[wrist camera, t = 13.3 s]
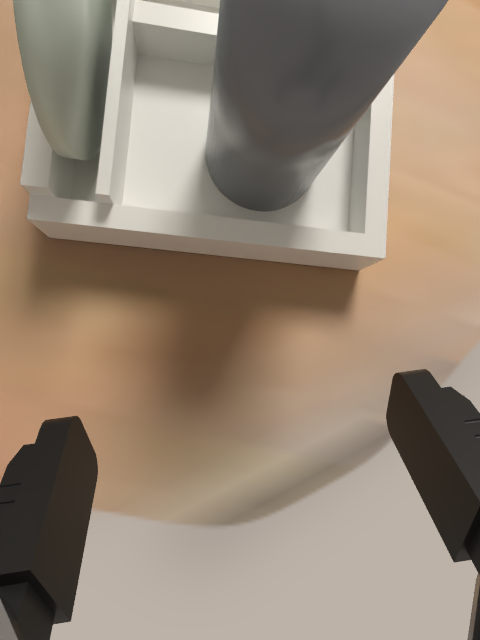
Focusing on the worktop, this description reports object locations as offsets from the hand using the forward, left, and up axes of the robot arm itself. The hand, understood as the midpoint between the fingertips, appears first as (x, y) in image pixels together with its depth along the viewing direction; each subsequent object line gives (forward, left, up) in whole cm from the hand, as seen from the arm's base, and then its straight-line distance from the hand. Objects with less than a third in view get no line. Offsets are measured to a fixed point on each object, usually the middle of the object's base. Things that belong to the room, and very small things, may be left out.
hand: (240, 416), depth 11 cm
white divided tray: (-1, +13, -9) cm, 16 cm away
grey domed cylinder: (+1, +11, -8) cm, 14 cm away
